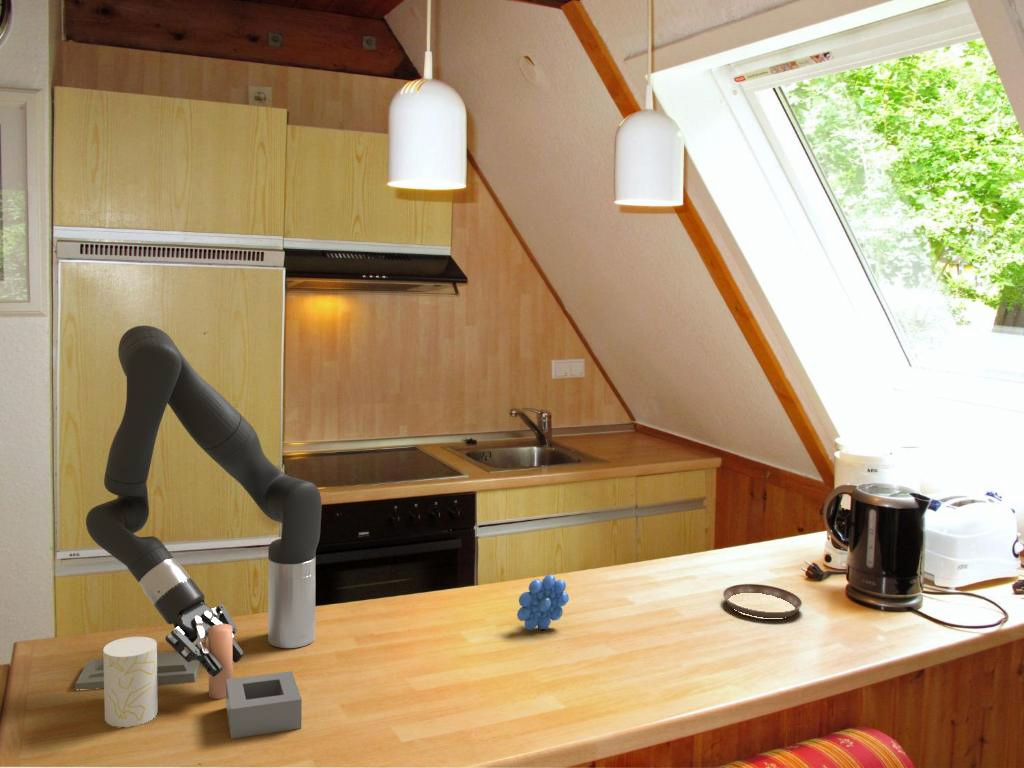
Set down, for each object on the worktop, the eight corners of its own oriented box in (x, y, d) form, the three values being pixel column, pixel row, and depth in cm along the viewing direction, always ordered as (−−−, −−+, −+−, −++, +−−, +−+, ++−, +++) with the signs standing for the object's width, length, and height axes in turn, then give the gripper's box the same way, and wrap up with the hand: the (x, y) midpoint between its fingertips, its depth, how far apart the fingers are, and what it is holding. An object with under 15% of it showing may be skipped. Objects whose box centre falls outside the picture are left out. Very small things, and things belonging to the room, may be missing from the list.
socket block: (226, 707, 154) (226, 679, 154) (291, 698, 158) (292, 671, 158) (231, 738, 144) (231, 709, 144) (301, 728, 148) (301, 699, 148)
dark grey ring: (790, 630, 198) (791, 617, 197) (712, 612, 207) (712, 599, 206) (809, 606, 213) (810, 593, 213) (735, 590, 222) (735, 578, 221)
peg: (208, 690, 160) (207, 625, 159) (231, 687, 162) (231, 622, 160) (209, 700, 157) (209, 634, 155) (233, 697, 158) (233, 631, 157)
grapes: (559, 619, 199) (561, 566, 197) (571, 631, 192) (574, 576, 191) (509, 624, 195) (511, 571, 193) (520, 637, 188) (522, 581, 187)
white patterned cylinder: (104, 731, 145) (102, 659, 144) (105, 708, 153) (103, 640, 151) (158, 722, 149) (157, 652, 147) (156, 700, 156) (155, 633, 154)
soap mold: (88, 669, 168) (87, 651, 168) (201, 661, 173) (201, 644, 173) (75, 694, 158) (74, 675, 158) (195, 685, 163) (195, 667, 163)
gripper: (156, 591, 152) (216, 671, 150) (210, 566, 166) (266, 638, 164) (130, 616, 155) (190, 695, 152) (186, 589, 168) (241, 662, 166)
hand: (229, 665), depth 158 cm, fingers open, 5 cm apart
